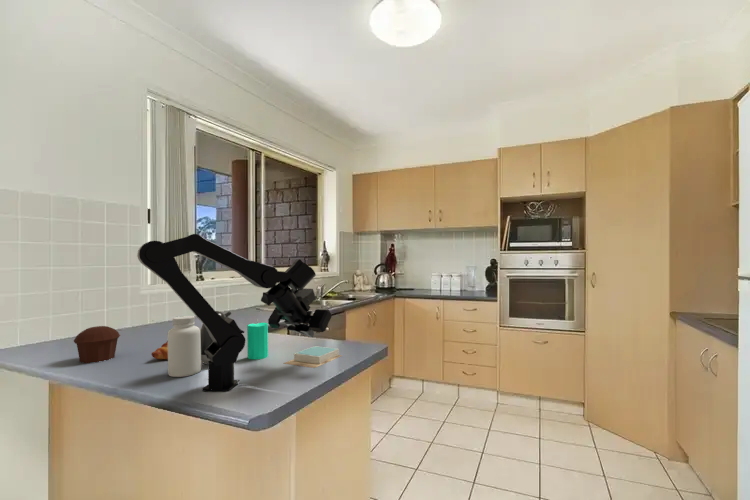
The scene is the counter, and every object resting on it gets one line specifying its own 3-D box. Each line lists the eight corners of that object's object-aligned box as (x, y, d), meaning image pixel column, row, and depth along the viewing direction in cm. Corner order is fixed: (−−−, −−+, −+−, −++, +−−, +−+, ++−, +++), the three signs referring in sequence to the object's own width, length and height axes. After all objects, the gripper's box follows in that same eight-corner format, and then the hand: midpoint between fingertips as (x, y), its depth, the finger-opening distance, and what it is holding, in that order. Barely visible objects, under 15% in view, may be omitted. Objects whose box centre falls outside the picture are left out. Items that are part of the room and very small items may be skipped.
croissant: (204, 356, 133) (196, 335, 135) (223, 344, 129) (215, 323, 131) (146, 372, 113) (138, 347, 115) (167, 359, 110) (159, 333, 112)
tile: (319, 356, 106) (338, 348, 114) (294, 353, 110) (314, 345, 119) (319, 364, 106) (338, 355, 114) (294, 360, 110) (314, 352, 119)
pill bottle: (170, 370, 104) (169, 316, 104) (202, 367, 106) (201, 314, 107) (165, 379, 96) (164, 320, 96) (199, 375, 99) (199, 318, 99)
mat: (314, 370, 102) (314, 367, 102) (283, 365, 107) (283, 363, 107) (342, 357, 114) (342, 355, 114) (312, 353, 119) (312, 351, 119)
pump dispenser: (242, 360, 113) (241, 309, 113) (211, 369, 104) (211, 314, 104) (220, 356, 118) (219, 307, 119) (189, 364, 109) (188, 312, 110)
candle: (271, 356, 117) (270, 317, 118) (263, 361, 111) (263, 320, 112) (252, 356, 118) (252, 317, 118) (244, 361, 112) (243, 320, 112)
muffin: (73, 366, 110) (73, 332, 110) (73, 359, 118) (73, 327, 118) (122, 359, 117) (122, 327, 117) (118, 352, 126) (118, 322, 126)
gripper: (327, 279, 102) (349, 315, 111) (274, 279, 110) (298, 312, 120) (310, 313, 94) (335, 347, 104) (254, 309, 103) (282, 342, 113)
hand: (312, 335), depth 110 cm, fingers closed
